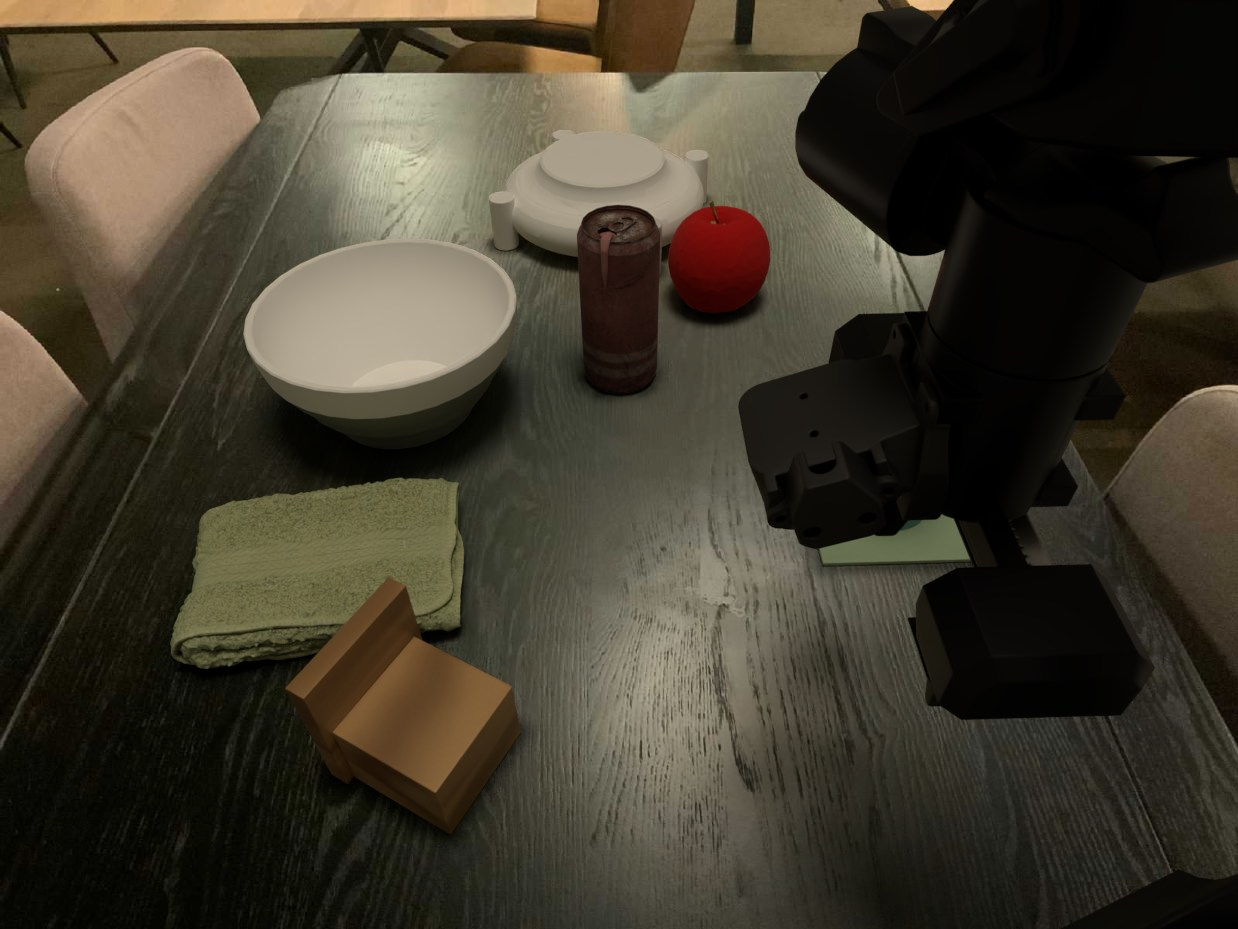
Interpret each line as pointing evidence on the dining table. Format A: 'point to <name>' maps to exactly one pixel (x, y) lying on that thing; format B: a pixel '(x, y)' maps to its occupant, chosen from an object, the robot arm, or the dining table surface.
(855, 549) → the mat
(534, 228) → the round stand with pegs
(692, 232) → the fruit
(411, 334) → the bowl
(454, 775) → the stepped wooden block
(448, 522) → the washcloth
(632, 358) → the can
